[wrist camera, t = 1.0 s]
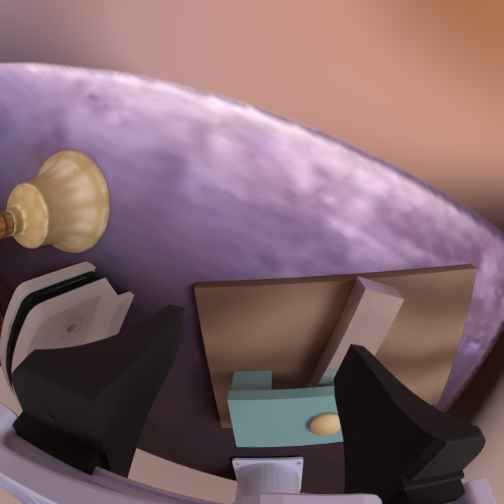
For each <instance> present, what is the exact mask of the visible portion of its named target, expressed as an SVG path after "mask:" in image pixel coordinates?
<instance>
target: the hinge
mask: <svg viewBox="0 0 504 504" xmlns="http://www.w3.org/2000/svg"><path fill="white" fill-rule="evenodd" d="M95 268H96V267H95V266H94V265H92V264H91V263H89V262H86V261H85V262H82V263H79V264H76V265H73V266H70V267H67V268H64V269H61V270H58V271H55V272H52V273H49V274H46V275H43V276H40V277H37V278H34V279H31V280H28V281H26V282H23V283H22V284H20V285H19V286H18V287H17V289H16V290H15V292H14V295H13V297H12V299H11V301H10V304H9V306H8V309H7V312H6V315H5V319H4V322H3V326H2V332H1V339H0V359H1V365H2V369H3V372H4V375H5V378H6V381H7V383H8V386H9V388H10V389H11V392H12V393H13V394H14V395H15V397H16V398H17V395H16V393H15V390H14V387H13V384H12V372H13V371H14V370H15V369H16V367H17V366H18V365H19V364H20V363H21V362H22V361H23V360H24V359H25V358H26V357H27V356H28V355H29V354H30V353H31V352H32V351H33V350H34V349H57V348H66V347H73V346H78V345H83V344H87V343H91V342H95V341H98V340H102V339H105V338H108V337H111V336H113V335H116V334H118V333H119V330H120V328H121V325H122V323H123V321H124V318H125V316H126V314H127V311H128V309H129V307H130V304H131V302H132V300H133V298H134V295H133V294H132V293H131V292H126V293H123V294H120V295H117V293H116V292H115V291H114V289H113V288H112V286H111V285H110V284H109V282H108V281H107V279H106V278H103V279H99V278H97V279H94V277H95V273H94V271H95ZM17 400H18V398H17ZM18 402H19V400H18ZM19 404H20V403H19Z"/></svg>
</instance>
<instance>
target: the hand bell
mask: <svg viewBox="0 0 504 504" xmlns="http://www.w3.org/2000/svg"><path fill="white" fill-rule="evenodd" d="M109 214H110V199H109V191H108V187H107V183H106V181H105V178H104V176H103V174H102V172H101V170H100V169H99V167H98V166H97V164H96V163H95V162H94V161H93V160H92V159H91V158H90V157H89V156H87V155H85V154H84V153H82V152H79V151H75V150H64V151H60V152H58V153H56V154H54V155H52V156H51V157H50V158H49V159H48V160H47V161H46V162H45V163H44V164H43V165H42V167H41V168H40V169H39V171H38V173H37V176H36V177H35V178H33V179H31V180H29V181H27V182H24V183H22V184H20V185H18V186H17V187H16V188H15V189H14V190H13V191H12V193H11V194H10V197H9V199H8V203H7V210H1V211H0V239H2V238H7V237H9V236H13V237H14V238H15V239H16V241H17V242H18V243H20V244H21V245H22V246H24V247H26V248H37V247H40V246H43V245H48V244H51V245H53V246H54V247H56V248H58V249H60V250H62V251H65V252H70V253H80V252H84V251H86V250H88V249H90V248H92V247H93V246H94V245H95V244H96V243H97V242H98V241H99V239H100V238H101V236H102V235H103V233H104V231H105V229H106V226H107V222H108V219H109Z"/></svg>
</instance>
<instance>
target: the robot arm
mask: <svg viewBox="0 0 504 504" xmlns="http://www.w3.org/2000/svg"><path fill="white" fill-rule="evenodd" d="M183 311H184V308H182V307H178V306H174V305H171V304H170V305H168V306H166V307H164V308H163V309H161V310H160V311H158V312H157V313H155V314H154V315H152V316H150V317H149V318H147V319H145V320H144V321H142V322H140V323H139V324H137V325H135V326H133V327H131V328H129V329H127V330H125V331H123V332H121V333H118V334H116V335H113V336H111V337H108V338H105V339H102V340H98V341H95V342H91V343H87V344H83V345H78V346H73V347H66V348H57V349H34V350H33V351H32V352H31V353H30V354H29V355H28V356H27V357H26V358H25V359H24V360H23V361H22V362H21V363H20V364H19V365H18V366H17V367H16V369H15V370H14V371H13V372H12V384H13V387H14V390H15V393H16V395H17V398H18V400H19V403H20V405H21V407H22V410H23V412H22V413H21V415H20V416H19V417H18V416H17V415H16V414H15V412H14V411H12V410H11V409H10V408H8V407H7V406H6V405H4V404H3V403H1V402H0V487H1V488H2V489H4V490H5V491H6V492H8V493H9V494H11V495H12V496H13V497H15V498H16V499H17V500H19V501H20V502H22V503H23V504H222V503H216V502H211V501H206V500H201V499H197V498H192V497H188V496H184V495H180V494H176V493H172V492H169V491H165V490H162V489H158V488H155V487H152V486H148V485H145V484H142V483H139V482H136V481H133V480H131V479H128V474H129V471H130V467H131V464H132V461H133V457H134V454H135V451H136V447H137V444H138V441H139V438H140V435H141V432H142V429H143V427H144V424H145V421H146V418H147V415H148V413H149V410H150V408H151V406H152V403H153V401H154V399H155V398H156V396H157V394H158V392H159V390H160V388H161V386H162V384H163V382H164V380H165V378H166V376H167V374H168V372H169V370H170V368H171V366H172V364H173V361H174V359H175V356H176V353H177V350H178V347H179V341H180V333H181V325H182V318H183ZM334 395H335V402H336V407H337V412H338V416H339V421H340V426H341V431H342V436H343V442H344V455H345V491H344V494H299V491H300V489H301V479H302V468H303V458H302V457H285V458H233V459H232V463H233V467H234V471H235V475H236V478H237V482H238V485H237V494H236V502H234V503H233V504H497V503H496V500H495V498H494V496H493V493H492V491H491V489H490V486H489V484H488V482H487V479H486V477H481V478H477V479H474V480H471V481H468V482H466V483H465V484H463V485H462V482H461V480H460V479H462V478H464V473H463V469H464V468H465V467H466V466H467V465H468V464H469V463H470V462H471V461H472V460H473V459H474V458H475V457H476V456H477V455H478V454H479V453H480V452H481V450H482V449H483V447H484V445H485V437H484V436H483V434H482V432H481V430H480V429H479V427H477V426H474V425H472V424H469V423H466V422H463V421H461V420H458V419H456V418H454V417H452V416H450V415H447V414H446V413H444V412H442V411H440V410H438V409H437V408H435V407H433V406H432V405H430V404H428V403H427V402H425V401H424V400H422V399H421V398H420V397H418V396H417V395H416V394H414V393H413V392H412V391H411V390H409V389H408V388H407V387H406V386H405V385H404V384H402V383H401V382H400V381H399V380H398V379H397V378H396V377H395V376H394V375H393V374H392V373H391V372H390V371H389V370H388V369H387V368H386V367H385V366H384V365H383V364H382V363H381V362H380V361H379V360H378V359H377V358H376V357H375V356H374V355H373V354H372V353H371V352H370V351H368V350H367V349H366V348H365V347H364V346H361V345H355V344H350V346H349V348H348V350H347V353H346V355H345V357H344V359H343V361H342V363H341V365H340V367H339V369H338V371H337V373H336V375H335V377H334Z"/></svg>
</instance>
